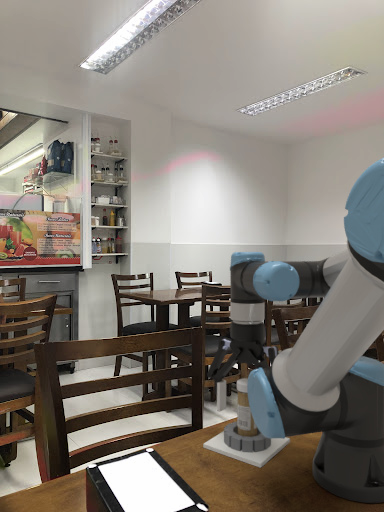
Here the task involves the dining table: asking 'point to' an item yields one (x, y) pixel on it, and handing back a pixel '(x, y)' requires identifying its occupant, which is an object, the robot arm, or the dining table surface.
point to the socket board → (246, 456)
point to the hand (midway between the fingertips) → (247, 416)
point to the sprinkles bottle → (244, 411)
